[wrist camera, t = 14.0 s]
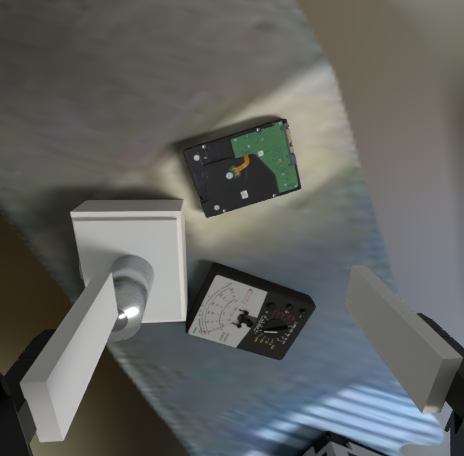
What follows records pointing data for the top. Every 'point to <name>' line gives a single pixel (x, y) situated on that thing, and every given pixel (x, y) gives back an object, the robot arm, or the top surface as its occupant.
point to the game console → (340, 447)
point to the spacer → (130, 294)
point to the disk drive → (244, 168)
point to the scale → (137, 247)
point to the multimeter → (248, 312)
